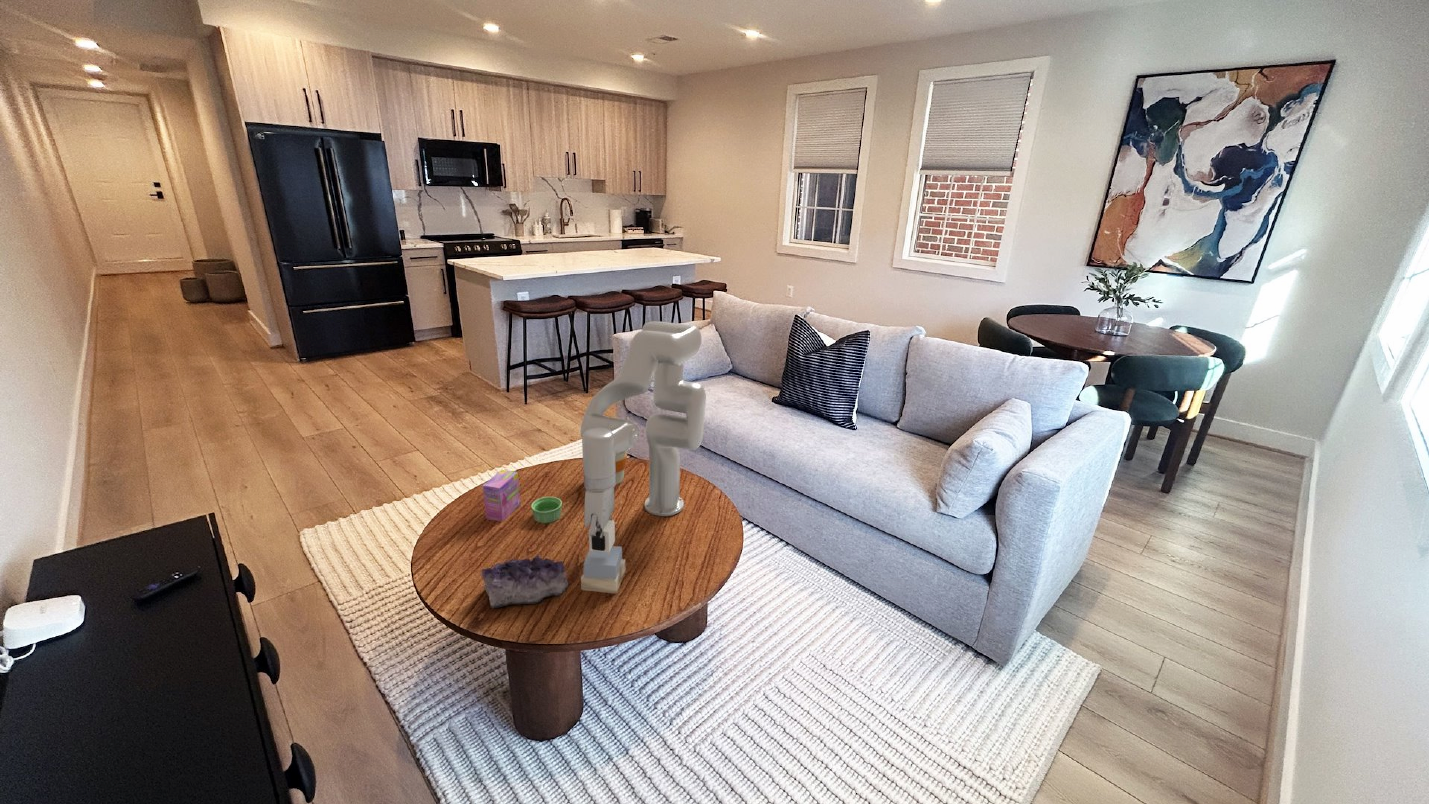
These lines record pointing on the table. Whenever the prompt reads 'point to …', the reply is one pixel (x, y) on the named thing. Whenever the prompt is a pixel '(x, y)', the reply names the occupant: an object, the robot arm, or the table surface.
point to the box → (501, 495)
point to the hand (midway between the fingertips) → (602, 542)
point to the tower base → (604, 582)
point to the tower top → (603, 563)
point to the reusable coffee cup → (620, 466)
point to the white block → (606, 536)
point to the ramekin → (546, 509)
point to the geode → (524, 581)
